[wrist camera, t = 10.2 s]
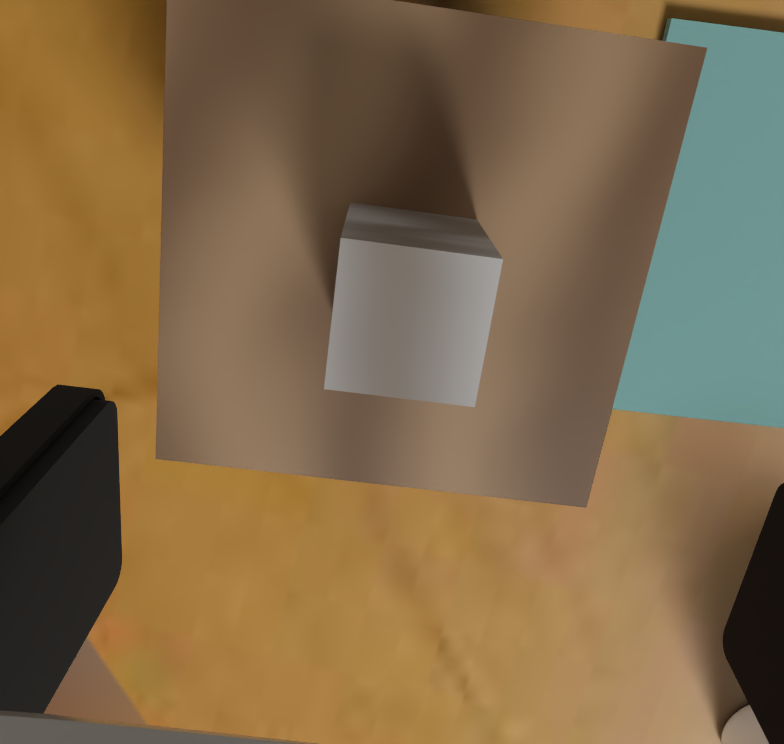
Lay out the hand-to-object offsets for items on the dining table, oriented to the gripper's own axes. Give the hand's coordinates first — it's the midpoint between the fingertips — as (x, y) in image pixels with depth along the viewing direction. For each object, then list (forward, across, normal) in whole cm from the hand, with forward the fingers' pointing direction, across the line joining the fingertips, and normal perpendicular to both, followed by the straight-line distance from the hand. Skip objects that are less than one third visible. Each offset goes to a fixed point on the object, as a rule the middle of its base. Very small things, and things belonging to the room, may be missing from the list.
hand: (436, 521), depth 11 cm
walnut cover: (+13, +1, 0) cm, 13 cm away
